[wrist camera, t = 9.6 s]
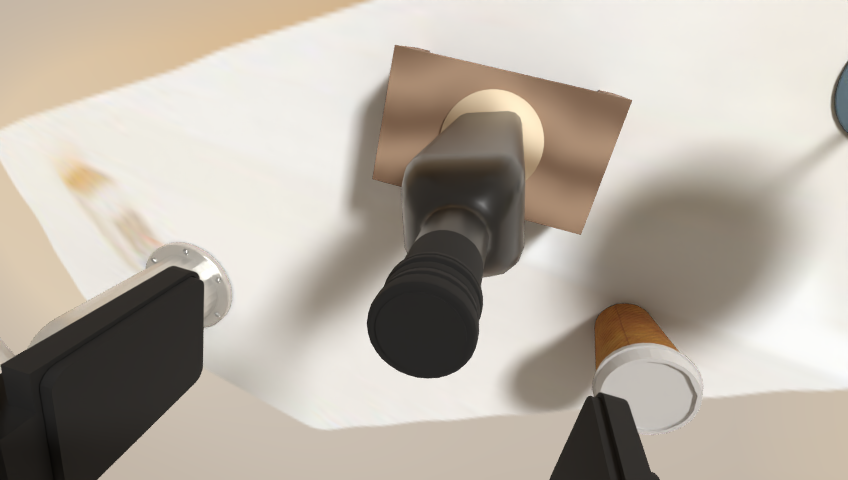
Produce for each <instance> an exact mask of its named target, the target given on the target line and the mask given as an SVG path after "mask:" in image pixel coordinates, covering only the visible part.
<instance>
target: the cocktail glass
mask: <svg viewBox="0 0 848 480" xmlns="http://www.w3.org/2000/svg"><path fill="white" fill-rule="evenodd" d="M835 108H836V114H837V117H838V119H839V122H840V124H841V125H842V127H843V128H844V130H845V131H846V132H847V133H848V64H847V66H846V68H845V69H844V71H843V73H842V75H841V78H840V80H839V82H838V86H837V90H836V95H835Z"/></svg>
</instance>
